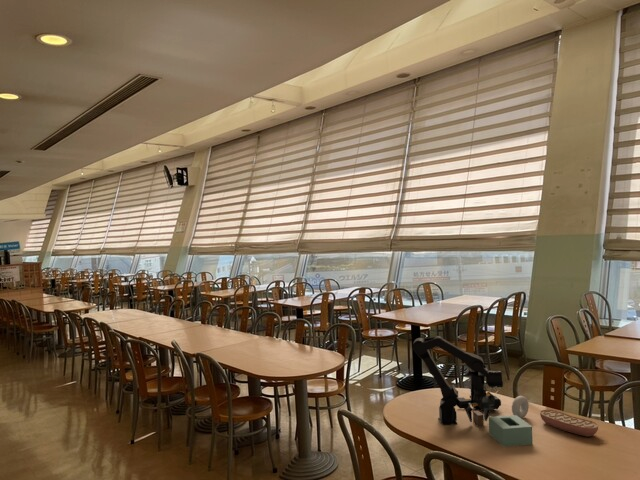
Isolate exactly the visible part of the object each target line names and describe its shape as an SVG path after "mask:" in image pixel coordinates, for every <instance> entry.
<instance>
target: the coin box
mask: <svg viewBox="0 0 640 480" xmlns="http://www.w3.org/2000/svg"><path fill="white" fill-rule="evenodd" d="M488 435H489V436H490V437H492V438H493V439H494V440H495V441H496V442H497V443H498V444H500V445H501V446H502V447H503V448H504V447H517V446H529V445H530V446H531V445H534V444H533V425H530V424H529V423H528V422H527V421H525V420H523V418H522V419H521V418H520V417H518V416H517V415H513V414H512V415H497V416H496V415H495V416H488Z"/></svg>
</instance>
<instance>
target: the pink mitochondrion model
mask: <svg viewBox="0 0 640 480" xmlns="http://www.w3.org/2000/svg"><path fill="white" fill-rule="evenodd" d="M539 414H540V416H539V417H540V419H541V420H542V422H544V423H545V424H546V425H548V426H551V427H553V428H556V429H558V430H561V431H565V432H567V433H571V434H574V435H578V436H582V437H593V436H594V435H596V434H597V432H598V430H599V425H598V423H597V422H595V421H592V420H589V419H586V418H581V417H577V416H573V415H569V414H568V413H564V412H562V411H558V410H554V409H542V410H540V411H539Z"/></svg>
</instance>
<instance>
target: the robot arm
mask: <svg viewBox="0 0 640 480" xmlns="http://www.w3.org/2000/svg"><path fill="white" fill-rule="evenodd" d="M435 348H440V349H441V350H443V351H445V352H447V353H449V354H450V355H452V356H453V357H455V358H457V359H459V360H460V361H462V362H463V363H464V364H465V365H466V366H467V367H468V368H469V369H468V370H467V371H466V372H465V376H466V377H468V376H469V377H470V386H469V387H468V388H469V390H470V395H469V399H471V400H466V399H467V398H465V397H459V391H458V390H457V389H456V386H455V385H454V384H453V383H452V384H450V383H448V380H447V379H446V378H445V376H444V374H443V373H442V371H441V369H440V368H439V367H438V365H437V363H436V361H435V359H434V358H433V356H432V354H431V351H430V350H431V349H435ZM412 350H413V352H415V354H416V355H417V357H419V358H420V359H421V360H422V362H424V364H425V366H426V367H427V369H428V371H429V372H430V374H431V375H432V377H433V379H434V381H435V383H436V385H438V387H439V390H440V392H441V395H442V398H440V402H439V406H438V411H439V413H438V414H439V416H438V418H437V419H438V421H439V422H440V423H441V424H442V425H454V424H455V425H456V424H458V422H457V421H458V420H457V411H456V407H458V408H459V409H464V411H465V413H466V415H467V417H468V420H469V422H470V423H472V422H473V411H472V410H473V407H472V405H471V404H478V406H479V408H480V409H484V410H483V416H484V421H485V422H487V420H489V417H490V416H489V415H490V414H491V412H492V411H491V410H492V409H493V408H495V406H499V407H501V406H502V399H500V398H499V397H497V396H496V395H494V394H492V396H489V395H488V396H487V394H486V393H487V390H486V389H485V385H487V387H490V388H501V389H502V388H503V387H504V380H503V372H502V371H501V370H489V368H488V367H487V366H486V365H485V363H484V359H483V357H481V356H479V355H477V354H475V353H472V352H467V351H466V350H464V349H463V348H461V347H458V346H457V345H455V344H454V343H452V342H449V341H448V340H447V339H444V338H443V336H440V335H436V336H433V337H431V336H430V337H425V338H422V337H418V338H416V339H414V341H413V343H412ZM493 395H494V396H493Z"/></svg>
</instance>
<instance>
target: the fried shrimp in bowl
mask: <svg viewBox="0 0 640 480" xmlns="http://www.w3.org/2000/svg"><path fill="white" fill-rule="evenodd" d="M486 394H487V396H488V395H489V396H492V395H493V396H495V395H494V394H492V393H491V392H490V391H486ZM465 399H466V400H471V398H465ZM470 406H471V408H472V409H474V410H475V411H484V409H480V408H479V406H478V404H471V405H470ZM499 408H500V406H495V408H493V409H492V410H491V411H490V412H492V411H494V410H498V409H499Z"/></svg>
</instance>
